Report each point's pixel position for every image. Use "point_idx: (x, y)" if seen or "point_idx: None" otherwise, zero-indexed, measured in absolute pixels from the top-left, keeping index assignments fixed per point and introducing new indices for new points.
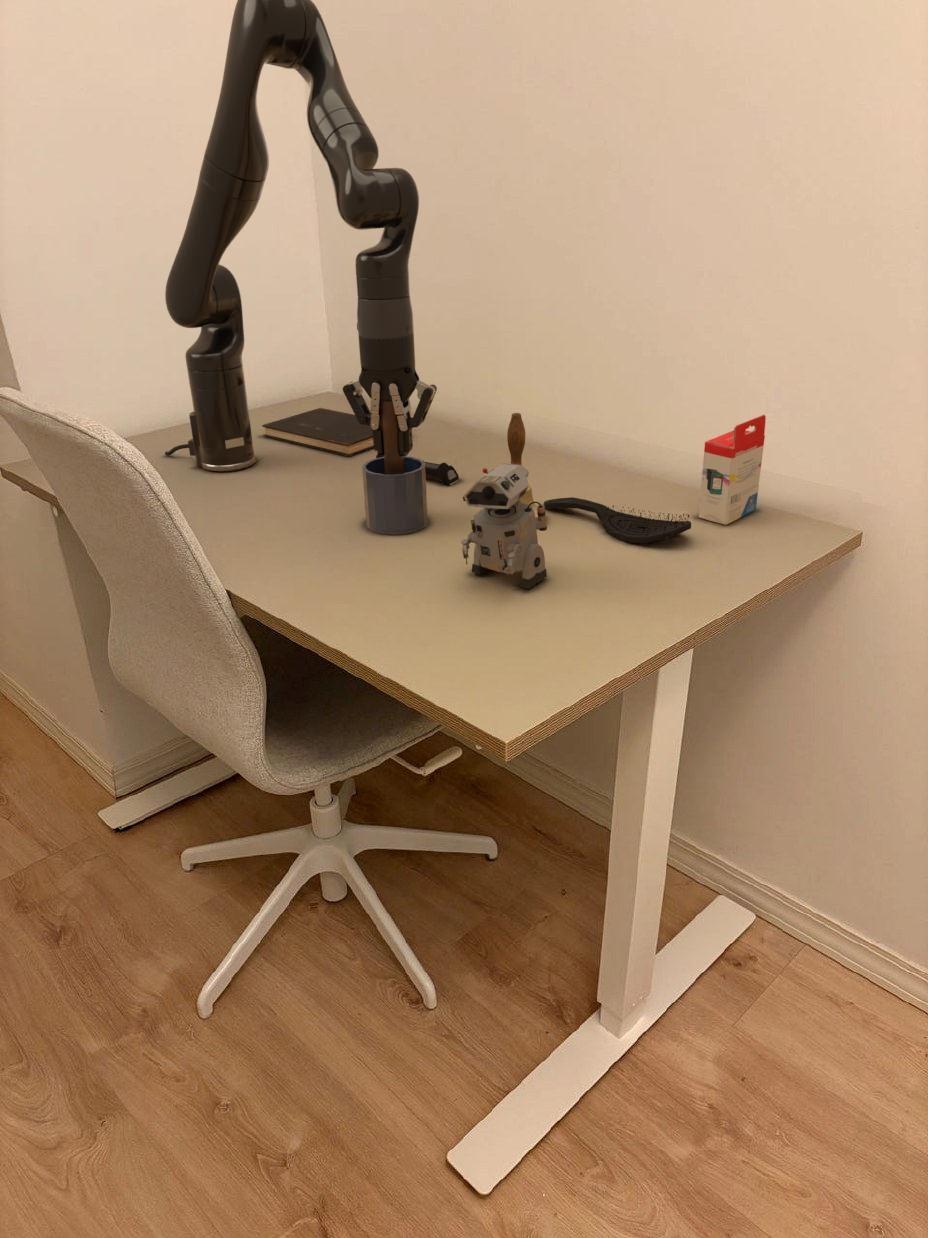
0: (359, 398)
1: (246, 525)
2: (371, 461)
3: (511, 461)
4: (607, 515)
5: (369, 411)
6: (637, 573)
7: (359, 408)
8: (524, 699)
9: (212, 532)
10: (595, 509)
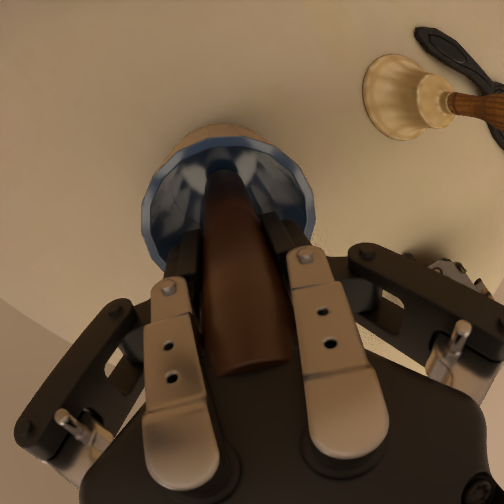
0: (98, 409)
1: (40, 287)
2: (150, 223)
3: (469, 112)
4: None
5: (120, 329)
6: (499, 212)
7: (133, 399)
8: (422, 374)
9: (36, 316)
10: (487, 93)
